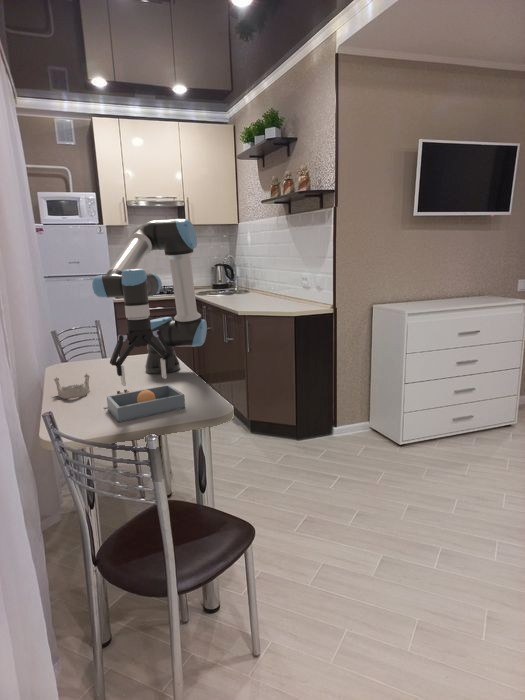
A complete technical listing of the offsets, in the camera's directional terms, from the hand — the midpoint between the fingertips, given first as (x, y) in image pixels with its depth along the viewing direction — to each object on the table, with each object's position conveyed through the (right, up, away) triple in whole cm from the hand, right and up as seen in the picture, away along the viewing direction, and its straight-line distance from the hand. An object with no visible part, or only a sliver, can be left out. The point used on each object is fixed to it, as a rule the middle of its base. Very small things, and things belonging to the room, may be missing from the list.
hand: (144, 381), depth 151 cm
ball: (0, -9, +2) cm, 9 cm away
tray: (0, -9, +3) cm, 10 cm away
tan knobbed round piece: (-11, -8, +13) cm, 18 cm away
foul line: (-5, -8, +11) cm, 14 cm away
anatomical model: (-32, -7, +22) cm, 40 cm away
